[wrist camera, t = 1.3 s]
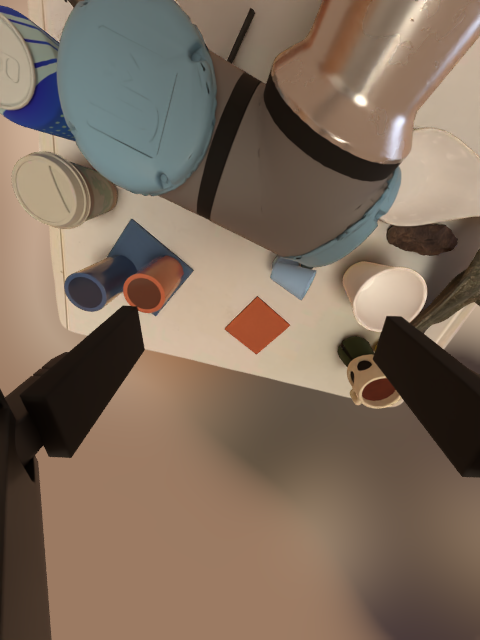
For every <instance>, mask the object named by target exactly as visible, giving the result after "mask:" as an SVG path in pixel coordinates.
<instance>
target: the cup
mask: <svg viewBox="0 0 480 640" xmlns="http://www.w3.org/2000/svg"><path fill="white" fill-rule="evenodd" d="M343 286H344V289H345V291H346V293H347V296H348V298H349V300H350V303H351V305H352V308H353V313H354V317H355V318H356V320H357V322H358V323H359V324H360V325H361V326H363V327H364V328H366V329H368V330H371V331H375V332H382V329H383V325H384V322H385V319H386V316H401V317H403V318H404V319H405V320H407V321H408V322H411V321H412V320H413V319H414V318H415V317H416V316H417V315H418V314H419V312H420V311H421V310H422V308H423V306H424V304H425V301H426V298H427V286H426V283H425V280H424V279H423V278H422V276H421V275H420V274H419V273H417V272H416V271H414V270H412V269H409V268H404V267H391V266H386V265H381V264H376V263H371V262H366V261H362V262H358V263H355V264H353V265H352V266H351V267H349V268H348V269H347V271H346V272H345V274H344V276H343Z"/></svg>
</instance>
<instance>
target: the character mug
mask: <svg viewBox="0 0 480 640" xmlns="http://www.w3.org/2000/svg"><path fill="white" fill-rule="evenodd" d="M342 343H343V344H344V347H343V349H342V348H341V347H340V346H339V347H338V354H339V357H340V359H341V360H342V361H343V363H344V364H345V365H346V366H347V368H348V369H347V377H348V380H349V382H350V384H351V386H352V388H353V389H352V390H351V391H350V396H351V398H352V400H353V402H354V403H355V404H356V405H360V404H361V403H363V404H364V405H365V406H367V407H370V408H375V409H376V408H385V407H388V406H391V405H393V404H394V403H396V402H397V401H399V400H400V399H401V396H400V395H399V393H398V392H397V391H396V389H395V388H394V387H393V386H392V384H391V383H390V382H389V380H388V379H387V378H386V376H385V375H384V374H383V372H382V371H381V370H380V369H379V367H378V366H377V365H376V363H375V362H374V361H373V356H374V352H373V350H372V348H371V346H370V344H369V342H368V341H366V340H365V339H364V338H361V337H357V336H355V337H349V338H347V339H346V340H344V341H343V342H342ZM356 394H357V395H356ZM357 396H358V397H357Z"/></svg>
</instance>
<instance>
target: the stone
mask: <svg viewBox="0 0 480 640" xmlns="http://www.w3.org/2000/svg"><path fill="white" fill-rule="evenodd" d="M387 236H388V240H389V243H390V244H393V245H394V246H396V247H399V248H400V249H403V250H405V251H413V252H417V253H419V254H421V255H429V256H432V255H439V254H441V253H443V252H447V251H451V250H453V249H454V248H455V246H456V245H457V243H458V242H457V240H458V239H457V238H456V237H455V235H454V234H453V233H452V231H451V230H450V229H449V228H448V227H447V226H446V225H437V224H434V225H432V224H425V225H418V226H393V227H391V228H390V229H389V230H388V234H387Z"/></svg>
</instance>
